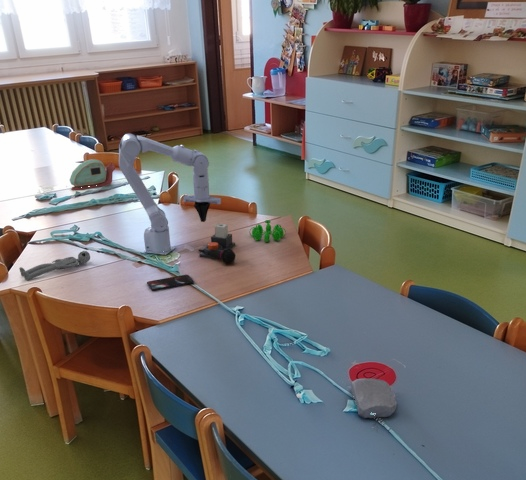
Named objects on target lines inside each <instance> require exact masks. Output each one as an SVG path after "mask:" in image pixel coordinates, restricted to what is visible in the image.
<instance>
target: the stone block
mask: <svg viewBox="0 0 526 480" xmlns="http://www.w3.org/2000/svg"><path fill="white" fill-rule="evenodd" d="M350 384H351V385H350V393H351V396H352V399H353V402H354V406H355V408H356V410H357V411H356V412H357V414H358V416H360V417H361V418H362V419H375V418H387V417H391V416H392V415H393V414H394V413H395V412H396V409H397V405H398V402H397V399H396V398H397V397H396V395H395V392H394V391H393V390H392V387H391V386H390V384H389V383H388V382H387V381H385V380H383V379H378V378H372V377H370V378H366V377H363V378H357V379H355V380H352V382H351V383H350ZM353 396H354V397H353ZM354 399H355V400H354ZM355 401H356V403H355ZM356 404H357V406H356ZM357 407H358V409H357ZM371 412H372V413H376V415H375V416H374V415H370V413H371ZM376 416H377V417H376Z"/></svg>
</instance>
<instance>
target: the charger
mask: <svg viewBox="0 0 526 480" xmlns="http://www.w3.org/2000/svg"><path fill="white" fill-rule="evenodd" d="M214 234H215V237H219V238H226V237H227V236H228V234H229V225H228V224H225V223H217V224H216V225H214Z"/></svg>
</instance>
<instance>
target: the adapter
mask: <svg viewBox="0 0 526 480" xmlns="http://www.w3.org/2000/svg"><path fill="white" fill-rule="evenodd" d="M235 246H236V242H233V241H232V244H231V245H230V246H229V247H228V248H222V246H221V245H218V249H215V250H222V251H224V250H225V249H231V250H233V248H234V247H235ZM203 249H204V251H205V253H203V252H200V253H199V258H203V259H204V258H205V259H211V260H218V261H219V260H220V259H218V258H215V257H212V256H210V255H208V252H209V251H211V249H208V244H207V245H205V246H204V247H203Z"/></svg>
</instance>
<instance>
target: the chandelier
mask: <svg viewBox="0 0 526 480" xmlns="http://www.w3.org/2000/svg"><path fill="white" fill-rule="evenodd" d="M264 223H265V224H266V226H265V230H264V228H263V226H262V225H261V224H259V223H257V224H256V225H255V226H254V227H251V228H250V229H249V231H251V233H249V236H250V237H252V238H253V240H254V241H255V242H258V241H260V240H261V239H262V238H263V237H264V238H263V239H264V240H263V241H264V242H265V243H268V242H269V241H270V239H271V236H270V235H272V239H273V240H274V241H275V242H279V241H280V240H281V239H283V238H284V237H285V236H286V235H287V230H286V229H285V228H284V227H282V225H281V224H279V223H277V224H276V225H274V226H273V229H272V225H271V220H265V221H264ZM284 232H285V234H284ZM263 235H264V236H263Z"/></svg>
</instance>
